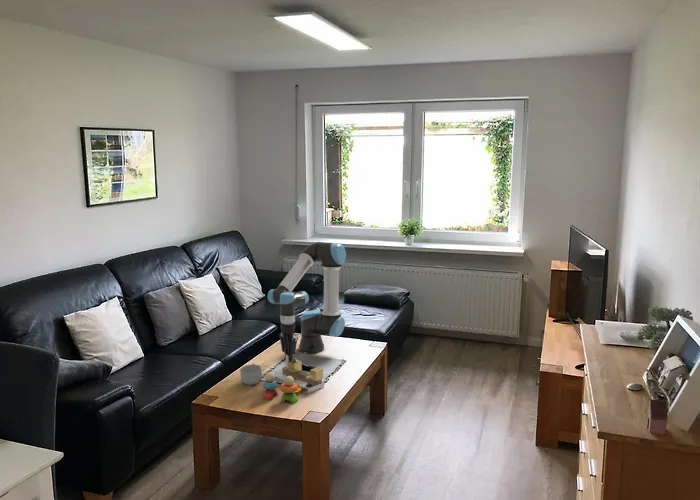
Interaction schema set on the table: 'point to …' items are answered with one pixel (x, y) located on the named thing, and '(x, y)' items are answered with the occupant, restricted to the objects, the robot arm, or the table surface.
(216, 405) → the table surface
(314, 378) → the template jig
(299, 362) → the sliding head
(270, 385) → the stacking toy figures
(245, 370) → the teacup
